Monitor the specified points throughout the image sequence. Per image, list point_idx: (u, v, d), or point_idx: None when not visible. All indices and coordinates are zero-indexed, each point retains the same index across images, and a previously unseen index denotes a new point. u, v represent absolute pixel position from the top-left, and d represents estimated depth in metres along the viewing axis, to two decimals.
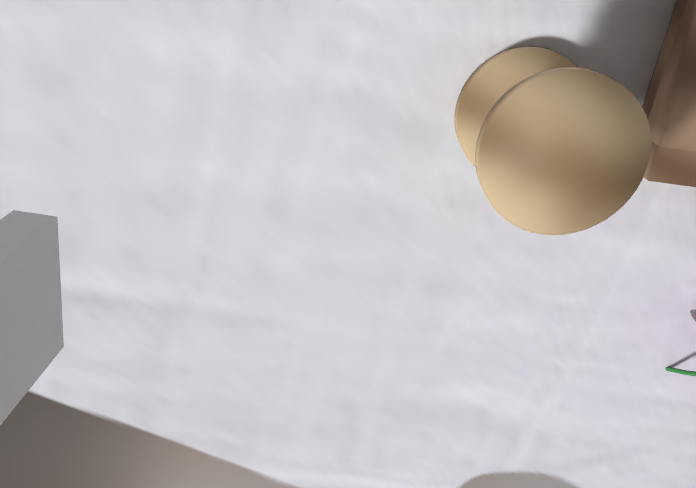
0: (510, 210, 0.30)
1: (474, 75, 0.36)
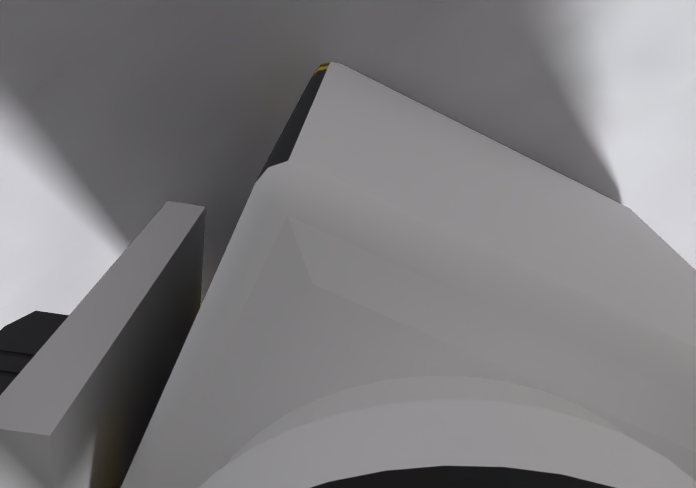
0: None
1: None
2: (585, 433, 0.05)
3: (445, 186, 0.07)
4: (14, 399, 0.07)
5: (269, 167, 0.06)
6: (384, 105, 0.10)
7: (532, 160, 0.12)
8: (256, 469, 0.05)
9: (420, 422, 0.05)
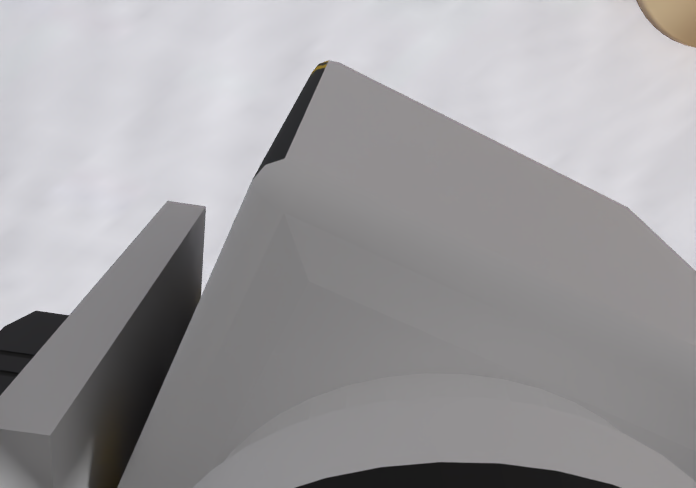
0: None
1: (661, 27, 0.25)
2: (579, 429, 0.05)
3: (442, 184, 0.07)
4: (14, 399, 0.07)
5: (265, 165, 0.06)
6: (382, 104, 0.10)
7: (530, 159, 0.12)
8: (252, 466, 0.05)
9: (416, 419, 0.05)
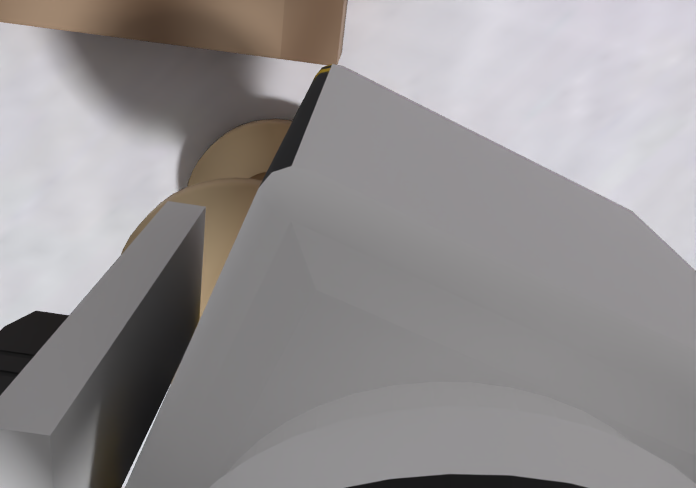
0: None
1: None
2: (588, 440, 0.05)
3: (448, 190, 0.07)
4: (14, 399, 0.07)
5: (272, 172, 0.06)
6: (386, 108, 0.10)
7: (534, 162, 0.12)
8: (259, 476, 0.05)
9: (424, 429, 0.05)
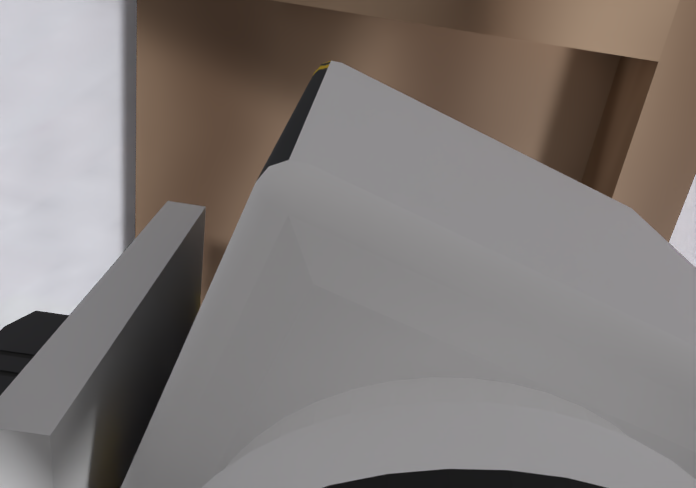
0: None
1: None
2: (589, 435, 0.05)
3: (447, 185, 0.07)
4: (14, 399, 0.07)
5: (269, 166, 0.06)
6: (385, 104, 0.10)
7: None
8: (256, 472, 0.05)
9: (423, 424, 0.05)
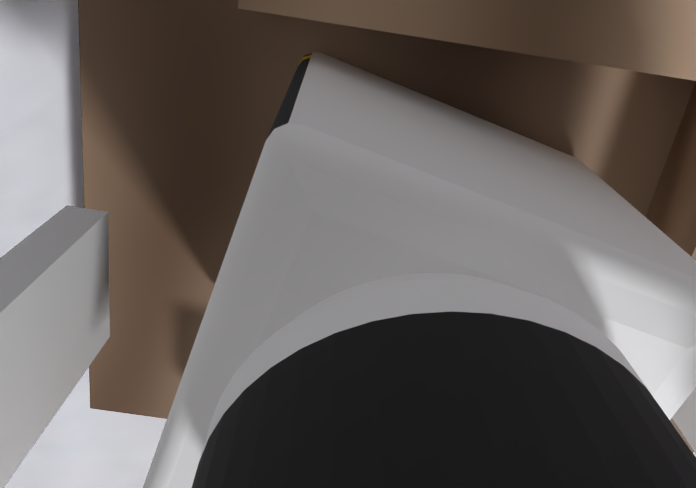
0: None
1: None
2: (510, 293, 0.07)
3: (409, 139, 0.09)
4: None
5: (274, 129, 0.08)
6: (359, 83, 0.12)
7: (490, 123, 0.14)
8: (283, 339, 0.07)
9: (395, 294, 0.07)
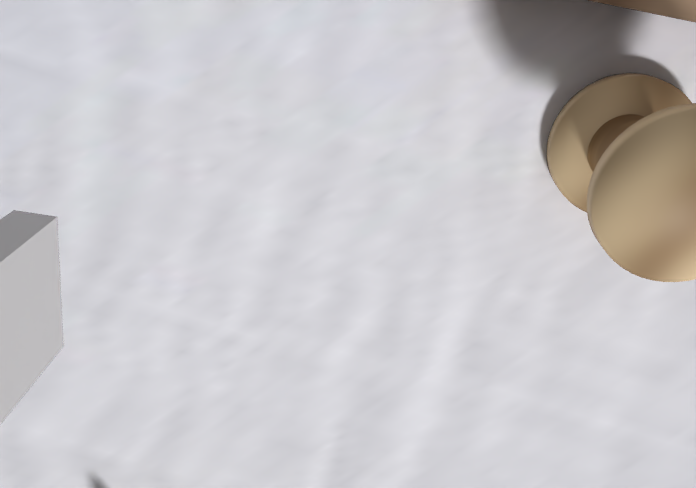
0: None
1: None
2: None
3: None
4: None
5: None
6: None
7: None
8: None
9: None
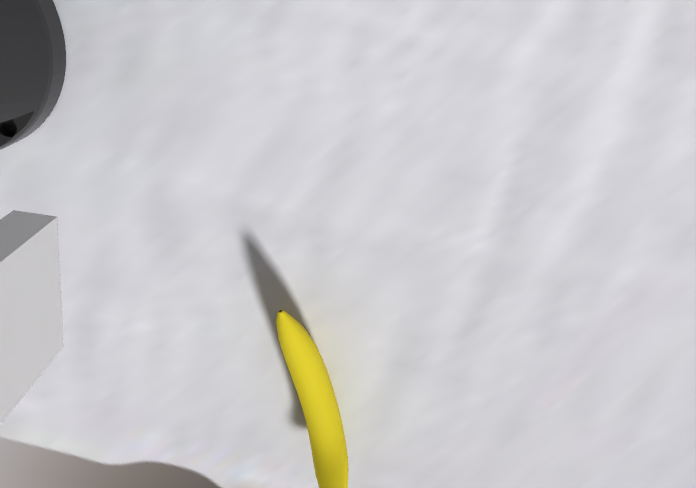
0: None
1: None
2: None
3: None
4: None
5: None
6: None
7: None
8: None
9: None
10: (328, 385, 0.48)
